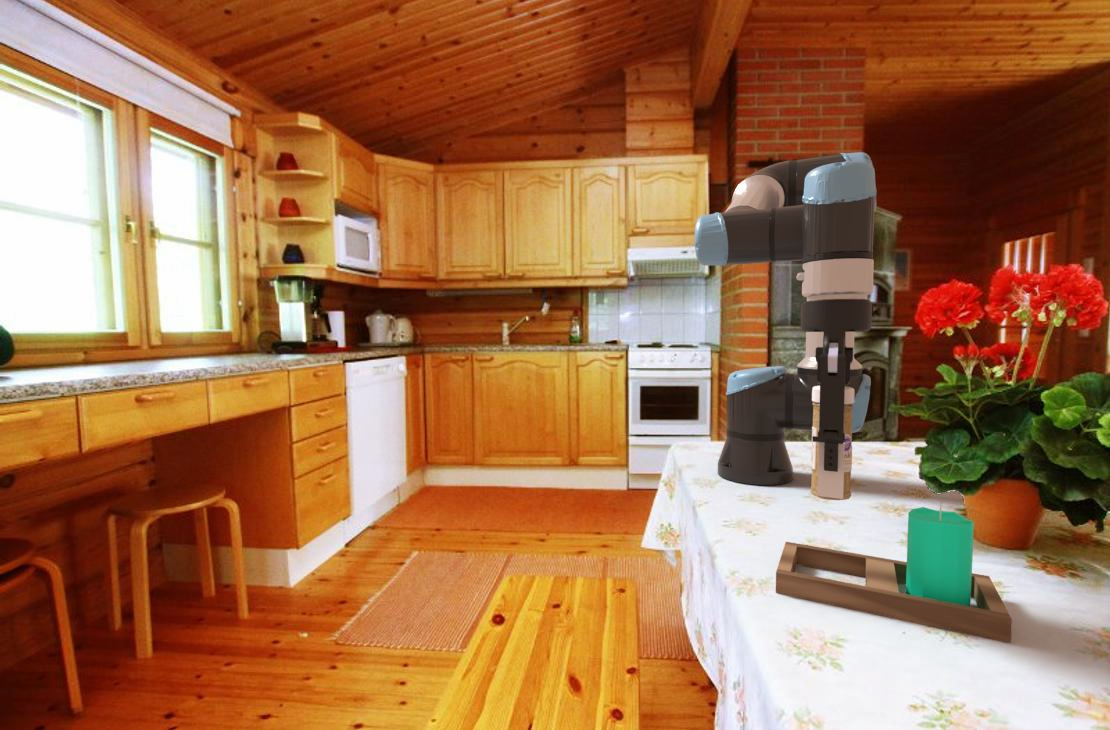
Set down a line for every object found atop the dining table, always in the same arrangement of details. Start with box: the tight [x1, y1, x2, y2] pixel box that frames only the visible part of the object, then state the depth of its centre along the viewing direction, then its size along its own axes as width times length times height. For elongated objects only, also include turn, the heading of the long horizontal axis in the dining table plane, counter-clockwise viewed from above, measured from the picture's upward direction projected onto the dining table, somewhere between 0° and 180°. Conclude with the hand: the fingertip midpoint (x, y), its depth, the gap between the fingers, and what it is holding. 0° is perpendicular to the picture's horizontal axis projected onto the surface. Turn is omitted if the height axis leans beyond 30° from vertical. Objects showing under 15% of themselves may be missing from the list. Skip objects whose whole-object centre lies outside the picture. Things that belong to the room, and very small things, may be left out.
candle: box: [905, 502, 975, 607], centre depth 61 cm, size 6×6×12 cm
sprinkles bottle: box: [809, 386, 854, 501], centre depth 65 cm, size 5×5×13 cm
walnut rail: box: [775, 541, 1013, 644], centre depth 64 cm, size 10×22×2 cm, turn 61°
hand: (831, 490), depth 66 cm, fingers closed on sprinkles bottle, 4 cm apart
